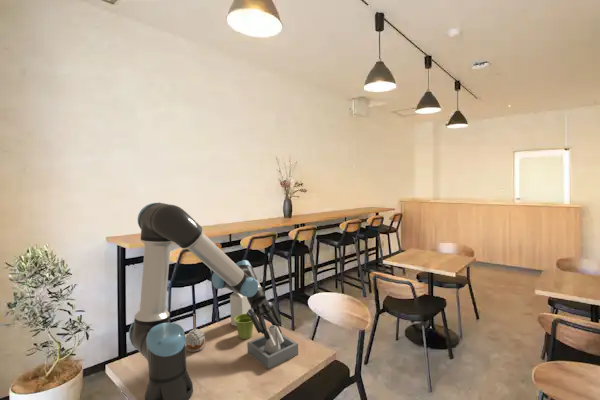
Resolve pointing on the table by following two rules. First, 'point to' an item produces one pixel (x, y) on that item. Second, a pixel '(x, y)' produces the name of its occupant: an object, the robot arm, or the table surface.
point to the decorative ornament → (195, 339)
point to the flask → (277, 347)
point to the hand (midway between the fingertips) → (277, 344)
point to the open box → (271, 360)
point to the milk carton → (238, 306)
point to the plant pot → (244, 326)
